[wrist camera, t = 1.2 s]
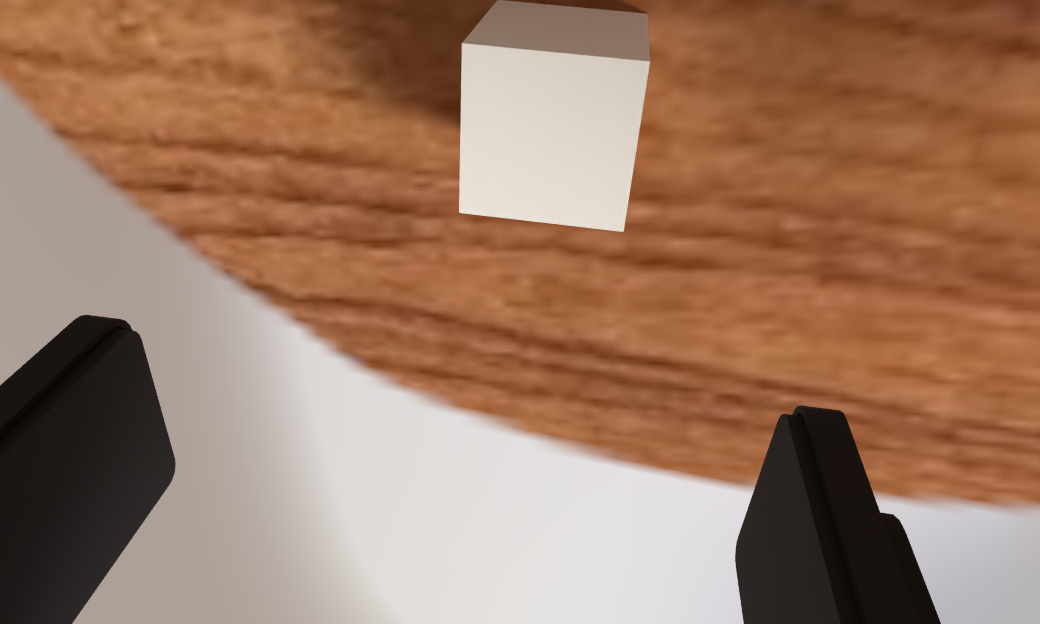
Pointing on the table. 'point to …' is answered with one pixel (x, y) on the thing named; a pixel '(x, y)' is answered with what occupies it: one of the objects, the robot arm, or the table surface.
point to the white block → (552, 113)
